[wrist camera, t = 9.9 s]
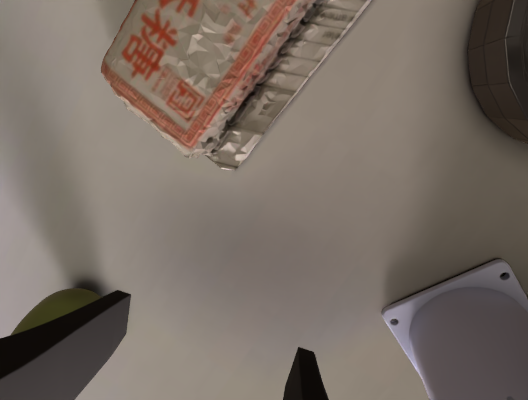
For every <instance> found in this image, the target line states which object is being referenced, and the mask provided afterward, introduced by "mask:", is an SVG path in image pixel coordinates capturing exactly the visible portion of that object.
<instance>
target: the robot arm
mask: <svg viewBox="0 0 528 400" xmlns="http://www.w3.org/2000/svg"><path fill="white" fill-rule="evenodd" d="M504 272H506V275H505V276H503V277H500V275H501V274H502V273H504ZM130 298H131V294H128V293H125V292H122V291H119V290H117V291H114V292H112V293H110V294H108V295H106V296H104V297H102V298H100V299H98V300H96V301H94V302H91V303H89V304H87V305H85V306H83V307H81V308H79V309H77V310H74V311H72V312H70V313H68V314H65V315H63V316H61V317H58V318H56V319H54V320H51V321H49V322H46V323H44V324H42V325H39V326H36V327H34V328H31V329H28V330H25V331H22V332H19V333H16V334H13V335H10V336H7V337H4V338H0V400H75V398H76V397H77V396H78V395H79V394H80V392H81V391H82V390H83V389H84V388H85V387H86V385H87V384H88V383H89V382H90V381H91V380H92V378H93V377H94V376H95V375H96V374H97V372H98V371H99V370H100V369H101V368H102V366H103V365H104V364H105V363H106V362H107V361H108V359H109V358H110V357H111V356H112V354H113V353H114V351H115V350H116V348H117V347H118V345H119V344H120V342H121V341H122V339H123V338H124V336H125V334H126V330H127V322H128V314H129V306H130ZM382 316H383V319H384V320H385V322H386V323H387V325H388V326H389V328H390V330H391V331H392V333H393V334H394V336H395V337H396V339H397V341H398V342H399V344H400V345H401V347H402V348H403V350H404V351H405V353H406V355H407V356H408V358H409V359H410V361H411V362H412V364H413V365H414V367H415V369H416V370H417V372H418V373H419V375H420V376H421V378H422V380H423V383H424V386H425V389H426V391H427V394H428V397H429V400H528V298H527V297H526V295H525V293H524V291H523V289H522V288H521V286H520V284H519V282H518V280H517V278H516V277H515V275H514V273H513V271H512V269H511V267H510V266H509V264H508V263H507V262H505V261H504V260H501V259H497V260H494V261H491V262H489V263H487V264H485V265H482V266H480V267H478V268H475V269H473V270H471V271H468V272H466V273H464V274H461V275H459V276H457V277H454V278H452V279H450V280H447V281H445V282H443V283H440V284H438V285H436V286H433V287H431V288H429V289H427V290H424V291H422V292H420V293H417V294H415V295H413V296H410V297H408V298H406V299H403V300H401V301H399V302H396V303H394V304H392V305H389V306H387V307H385V308H384V309H383V310H382ZM394 318H395V319H397V320H396V321H394V322H392V321H391V319H394ZM283 400H329V399H328V396H327V393H326V391H325V388H324V385H323V382H322V379H321V375H320V372H319V368H318V365H317V361H316V357H315V354H314V352H312V351H309V350H306V349H303V348H300V347H298V350H297V353H296V356H295V359H294V362H293V365H292V368H291V371H290V374H289V377H288V380H287V382H286V385H285V391H284V397H283Z"/></svg>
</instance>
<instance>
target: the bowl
mask: <svg viewBox="0 0 528 400" xmlns="http://www.w3.org/2000/svg"><path fill="white" fill-rule="evenodd" d="M468 50H469V51H468V60H469V68H470V77H471V85H472V89H473V91H474V92H475V94H476V96H477V98H478V100H479V102H480V104H481V106H482V108H483V110H484V112H485V114H486V115H487V116H488V117H489V118H490V119H491V120H492V121H493V122H494V123H495V124H496V125H498V126H499V127H500V128H501V129H502V130H503V131H504V132H506V133H507V134H508V135H509V136H510V137H513V139H516V140H519V141H521V142H524V143H526V144H528V0H481V1H480V3H479V5H478V7H477V9H476V12H475V16H474V21H473V26H472V31H471V36H470V40H469V45H468Z"/></svg>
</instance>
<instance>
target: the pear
mask: <svg viewBox="0 0 528 400" xmlns="http://www.w3.org/2000/svg"><path fill="white" fill-rule="evenodd" d="M100 298H102V297H100V296H99V295H98V294H96V293H94V292H92V291H89V290H86V289H79V288H73V289H65V290H61V291H58V292H56V293H54V294H52V295H50V296H48V297H46V298H45V299H44V300H42V301H41V302H40V303H39V304H38V305H36V306H35V307H34V308H33V309H32V310H31V311H30V312H29V313H28V314H27V315H26V316H25V317H24V318H23V320H22V321H21V322H20V323H19V324H18V326H17V327H16V328H15V330H14V331H13V332H12V334H11V335H13V334H16V333H19V332H22V331H25V330H28V329H31V328H34V327H36V326H39V325H42V324H44V323H46V322H49V321H51V320H54V319H56V318H58V317H61V316H63V315H65V314H68V313H70V312H72V311H74V310H77V309H79V308H81V307H83V306H85V305H87V304H89V303H91V302H94V301H96V300H98V299H100Z"/></svg>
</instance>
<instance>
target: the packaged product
mask: <svg viewBox="0 0 528 400" xmlns="http://www.w3.org/2000/svg"><path fill="white" fill-rule="evenodd" d="M370 2H371V0H135V1H134V3H133V5H132V7H131V9H130V11H129V13H128V15H127V17H126V18H125V20H124V21H123V23H122V25H121V27H120V30H119V32H118V34H117V35H116V37H115V38H114V41H113V43H112V45H111V46H110V48H109V49H108V51H107V53H106V55H105V57H104V59H103V62H102V66H101V73H102V74H103V76H104V78H105V80H106V81H107V82H108V83H109V84H110V86H111V87H112V90H113V92H114V94H115V95H116V96H118V97H119V98H120V99H122V100H123V101H124V104H125V106H126V109H128V110H129V111H131V112H132V113H134V114H135V115H137V116H138V117H140V118H141V119H143V120H144V121H146V122H147V123H149V124H150V125H151V126H153V127H154V128H155V129H156V130H157V131H158V132H159V133H160V134H161V136H162V137H163V138H166V139H168V140H169V141H171V142H172V143H173V144H174V145H175V146H176V147H177V148H178V149H179V151H180V152H181V153H182V154H183V155H184V156H185V157H188V158H191V157H195V158H198V157H199V155H200V154H203V155H205V156H207V157H208V158H209V159H210V160H211V161H213V162H214V163H215V164H217V165H218V166H219V167H220V168H222V169H225V170H236V169H237V167H238V166H239V165H240V164H241V163H242V162H243V161H244V160H245V159H246V158H247V156H248V155H249V154H250V152H251V151H252V149H253V148H254V147H255V145H256V144H257V142H258V141H259V139H260V138H261V137H262V135H263V134H264V132H265V131H266V130H267V129H268V128H269V126H270V125H271V124H272V123H273V122H274V120H275V119H276V118H277V117H278V116H279V114H280V113H281V112H282V111H283V110H284V108H285V107H286V106H287V105H288V104H289V102H290V101H291V100H292V99H293V98H294V96H295V95H296V94H297V93H298V92H299V91H300V89H301V88H302V86H303V85H304V83H305V82H306V81H307V80H308V78H309V77H310V76H311V75H312V74H313V72H314V71H315V70H316V69H317V68H318V66H319V65H320V64H321V63H322V62H323V60H324V59H325V58H326V57H327V55H328V54H329V53H330V52H331V51H332V49H333V48H334V47H335V46H336V44H337V43H338V42H339V41H340V39H341V38H342V37H343V36H344V34H345V33H346V32H347V31H348V29H349V28H350V27H351V26H352V24H353V23H354V22H355V21H356V19H357V18H358V17H359V16H360V14H361V13H362V12H363V10H364V9H365V8H366V7H367V5H368V4H369V3H370Z"/></svg>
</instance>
